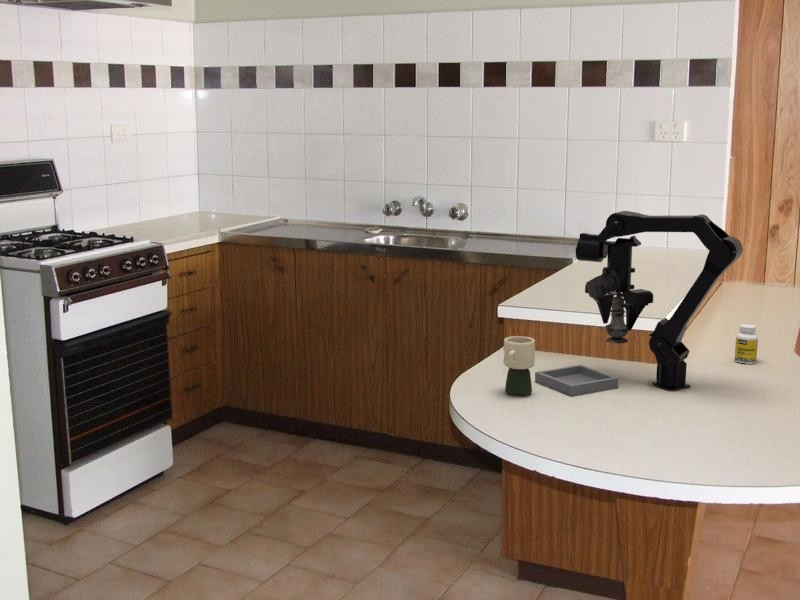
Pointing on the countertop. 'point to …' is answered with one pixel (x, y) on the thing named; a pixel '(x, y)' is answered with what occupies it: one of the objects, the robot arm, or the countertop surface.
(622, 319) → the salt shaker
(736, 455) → the countertop surface
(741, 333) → the supplement bottle
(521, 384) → the character mug
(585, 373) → the charcoal tray
